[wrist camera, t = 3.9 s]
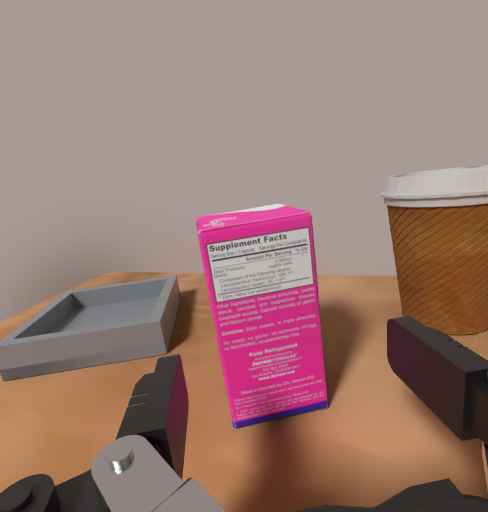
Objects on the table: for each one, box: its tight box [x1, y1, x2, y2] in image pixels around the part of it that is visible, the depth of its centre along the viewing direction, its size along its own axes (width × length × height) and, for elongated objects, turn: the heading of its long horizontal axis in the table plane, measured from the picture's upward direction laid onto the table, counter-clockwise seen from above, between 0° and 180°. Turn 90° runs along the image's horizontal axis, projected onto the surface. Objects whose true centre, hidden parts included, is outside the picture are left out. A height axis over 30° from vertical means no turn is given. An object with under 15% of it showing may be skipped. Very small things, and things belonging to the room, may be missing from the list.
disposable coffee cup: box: [381, 165, 488, 335], centre depth 25 cm, size 10×10×12 cm
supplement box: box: [197, 204, 328, 428], centre depth 19 cm, size 6×6×12 cm
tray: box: [0, 275, 181, 381], centre depth 31 cm, size 13×13×3 cm
